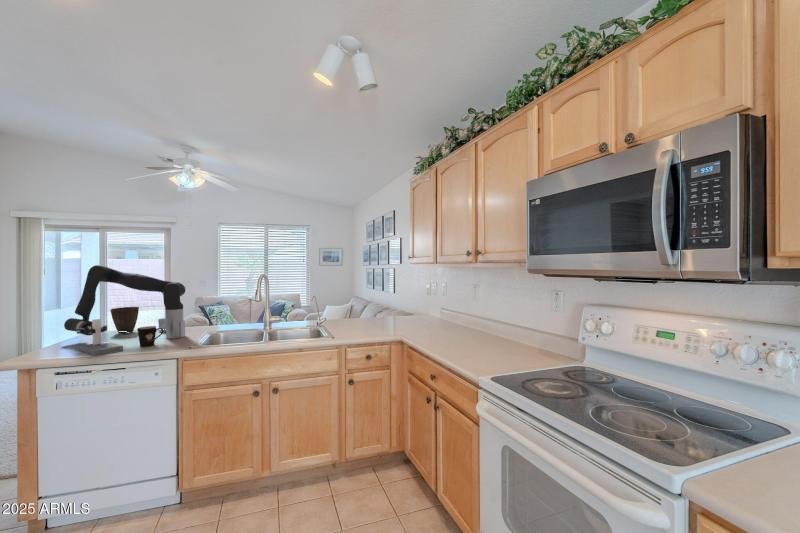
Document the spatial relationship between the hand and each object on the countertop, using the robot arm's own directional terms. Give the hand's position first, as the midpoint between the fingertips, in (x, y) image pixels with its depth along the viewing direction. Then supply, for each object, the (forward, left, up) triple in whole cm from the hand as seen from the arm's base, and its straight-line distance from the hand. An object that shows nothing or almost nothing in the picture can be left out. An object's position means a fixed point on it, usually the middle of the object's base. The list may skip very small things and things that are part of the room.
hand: (98, 330), depth 194 cm
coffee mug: (-22, -5, -10) cm, 25 cm away
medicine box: (-13, -49, -10) cm, 52 cm away
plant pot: (+11, -49, -10) cm, 51 cm away
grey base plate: (-2, +2, -10) cm, 10 cm away
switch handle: (+2, -2, -7) cm, 8 cm away
